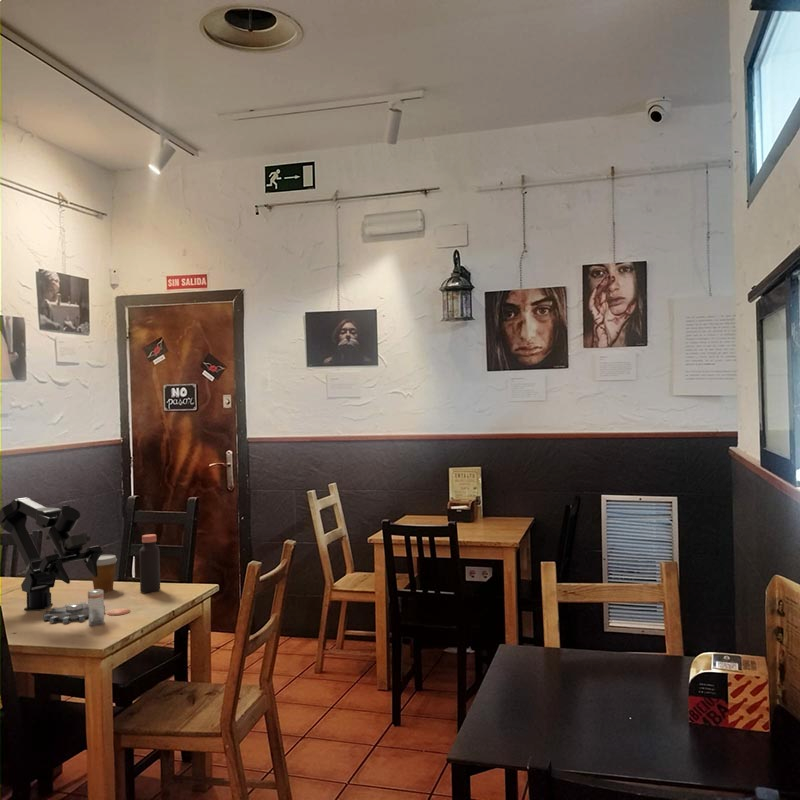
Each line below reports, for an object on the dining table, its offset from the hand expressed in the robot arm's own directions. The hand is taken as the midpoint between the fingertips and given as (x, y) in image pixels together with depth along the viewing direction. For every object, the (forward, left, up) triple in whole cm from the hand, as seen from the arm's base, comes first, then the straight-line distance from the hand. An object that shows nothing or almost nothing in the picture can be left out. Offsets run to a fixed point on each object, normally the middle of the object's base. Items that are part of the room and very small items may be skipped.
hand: (83, 579), depth 225 cm
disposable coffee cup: (-10, +36, -13) cm, 40 cm away
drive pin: (+6, -4, -13) cm, 14 cm away
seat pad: (+7, +8, -13) cm, 17 cm away
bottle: (+8, +34, -13) cm, 38 cm away
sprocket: (-6, +6, -13) cm, 15 cm away
